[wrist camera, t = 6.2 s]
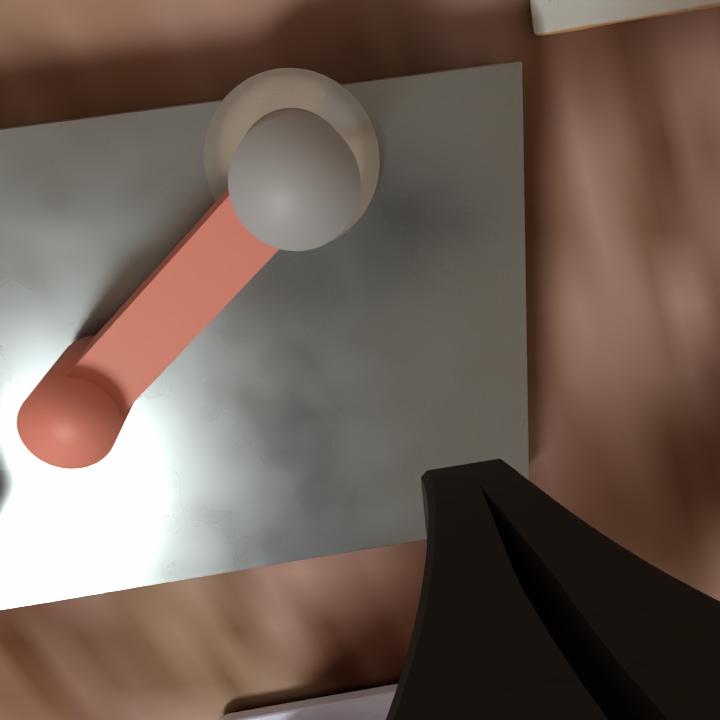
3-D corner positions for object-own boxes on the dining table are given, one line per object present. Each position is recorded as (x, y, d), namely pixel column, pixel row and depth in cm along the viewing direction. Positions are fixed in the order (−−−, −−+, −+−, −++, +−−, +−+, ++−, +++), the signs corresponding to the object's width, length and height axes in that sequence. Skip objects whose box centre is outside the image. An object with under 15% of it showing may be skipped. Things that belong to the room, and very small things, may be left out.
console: (509, 485, 22) (554, 566, 18) (-293, 615, 21) (-416, 730, 17) (495, 41, 17) (555, 31, 13) (-594, 182, 15) (-869, 215, 12)
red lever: (116, 427, 17) (81, 501, 14) (35, 370, 16) (-21, 435, 13) (367, 163, 15) (387, 184, 12) (289, 82, 14) (291, 84, 11)
